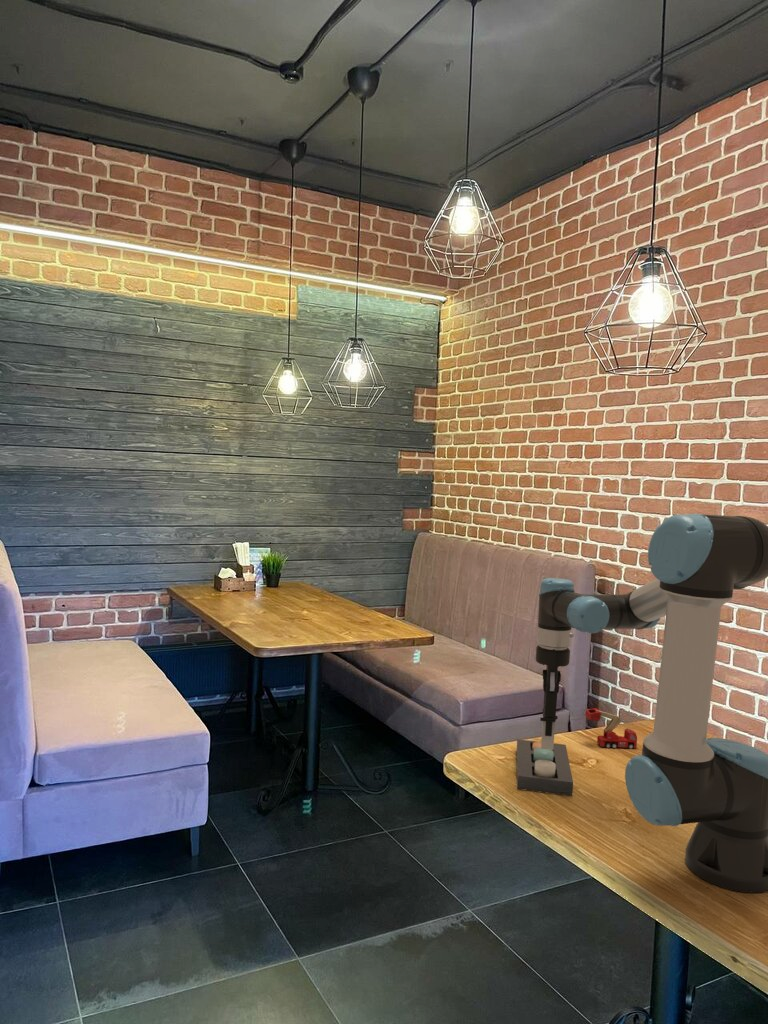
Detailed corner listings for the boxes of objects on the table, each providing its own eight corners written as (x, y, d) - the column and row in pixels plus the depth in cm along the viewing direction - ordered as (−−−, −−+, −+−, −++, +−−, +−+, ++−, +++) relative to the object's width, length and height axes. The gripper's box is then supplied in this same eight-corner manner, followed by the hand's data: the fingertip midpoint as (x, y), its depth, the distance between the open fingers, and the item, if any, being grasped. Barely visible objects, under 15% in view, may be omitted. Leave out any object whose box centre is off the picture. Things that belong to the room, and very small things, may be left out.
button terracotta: (551, 761, 185) (552, 749, 185) (532, 759, 185) (532, 747, 185) (550, 754, 189) (551, 742, 189) (531, 752, 190) (532, 740, 190)
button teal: (553, 768, 177) (554, 755, 177) (533, 765, 177) (534, 753, 177) (552, 761, 181) (553, 748, 181) (532, 758, 182) (533, 746, 182)
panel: (572, 795, 167) (573, 782, 167) (517, 789, 169) (518, 775, 168) (564, 756, 190) (565, 744, 190) (516, 750, 192) (517, 739, 192)
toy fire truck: (638, 749, 198) (641, 713, 198) (587, 748, 197) (589, 711, 197) (633, 745, 202) (636, 709, 201) (583, 743, 201) (585, 707, 200)
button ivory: (555, 781, 169) (556, 768, 169) (534, 779, 170) (535, 766, 169) (554, 773, 173) (555, 761, 173) (533, 771, 174) (534, 758, 174)
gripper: (572, 653, 166) (565, 760, 166) (568, 642, 178) (562, 740, 179) (537, 650, 167) (530, 756, 168) (536, 639, 180) (530, 737, 181)
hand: (547, 748), depth 174 cm, fingers closed
